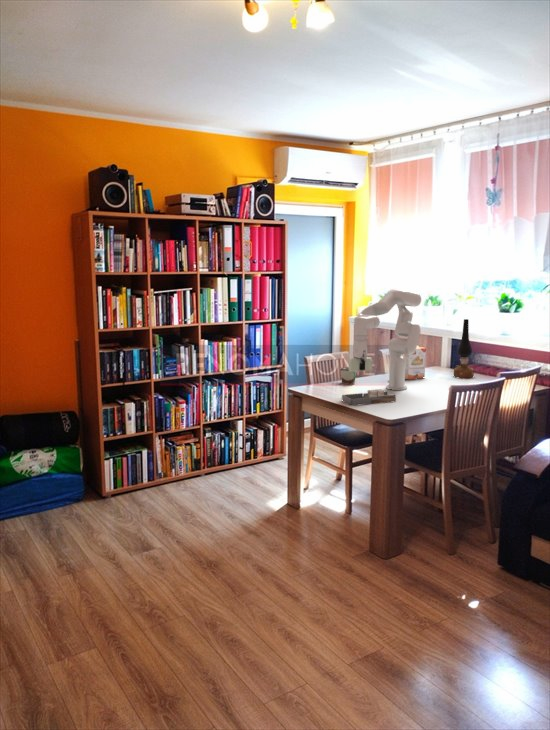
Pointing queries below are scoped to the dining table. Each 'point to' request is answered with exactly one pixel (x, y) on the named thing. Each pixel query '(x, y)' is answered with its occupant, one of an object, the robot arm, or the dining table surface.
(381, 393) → the chip
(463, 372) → the oil lamp
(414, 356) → the cracker box
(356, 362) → the bar
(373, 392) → the chip
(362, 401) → the tray
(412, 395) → the dining table surface
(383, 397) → the groove board
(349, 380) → the food container
